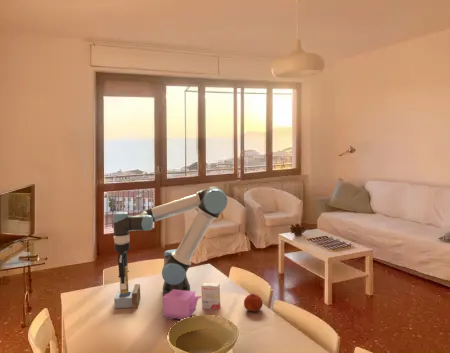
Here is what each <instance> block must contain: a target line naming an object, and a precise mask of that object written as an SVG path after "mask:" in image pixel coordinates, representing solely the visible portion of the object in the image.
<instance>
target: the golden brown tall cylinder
mask: <svg viewBox="0 0 450 353" xmlns="http://www.w3.org/2000/svg"><path fill="white" fill-rule="evenodd" d="M128 271H129V270H127V266H125V276H126V289H121V287H120V286H119V290H120V293H122V294H125V293H128V291H129V277H128V275H129V274H128V273H129V272H128Z"/></svg>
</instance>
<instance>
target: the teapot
mask: <svg viewBox="0 0 450 353" xmlns="http://www.w3.org/2000/svg"><path fill="white" fill-rule="evenodd" d="M199 299H202V295H196V292H195V291H192V290H190V291H185V290H176V289H173V290H171V291H170V292H169V293H167V294H164V295H163V296H162V304H163V306H162V307H163V317H166V318H168V319H169V320H174V319H179V320H180V321H181V319H184V318H187V317H189V318H190V317H191V316H192V315H193V314H194V313H195V311H197V305H198V304H197V303H198V300H199Z"/></svg>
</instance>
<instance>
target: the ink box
mask: <svg viewBox="0 0 450 353" xmlns="http://www.w3.org/2000/svg"><path fill="white" fill-rule="evenodd" d="M220 286H221V285H220V283H219V282H205V281H204V282H203V283H202V284H201V287H200V288H201V289H200V291H201V296H202V297H201V307H202V310H205V309H206V310H207V309H208V310H220V307H221V287H220Z"/></svg>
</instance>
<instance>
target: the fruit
mask: <svg viewBox="0 0 450 353" xmlns="http://www.w3.org/2000/svg"><path fill="white" fill-rule="evenodd" d="M263 303H264V302H263V300H262V298H261V297H260V296H259V295H258V294H255V293H250V294H249V295H247V296H246V297H245V298H244V300H243V307H244V308H245V309H246V310H247V311H249V312H252V313H253V312H254V313H255V312H258V311H260V310H261V309H262V308H263Z"/></svg>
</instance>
